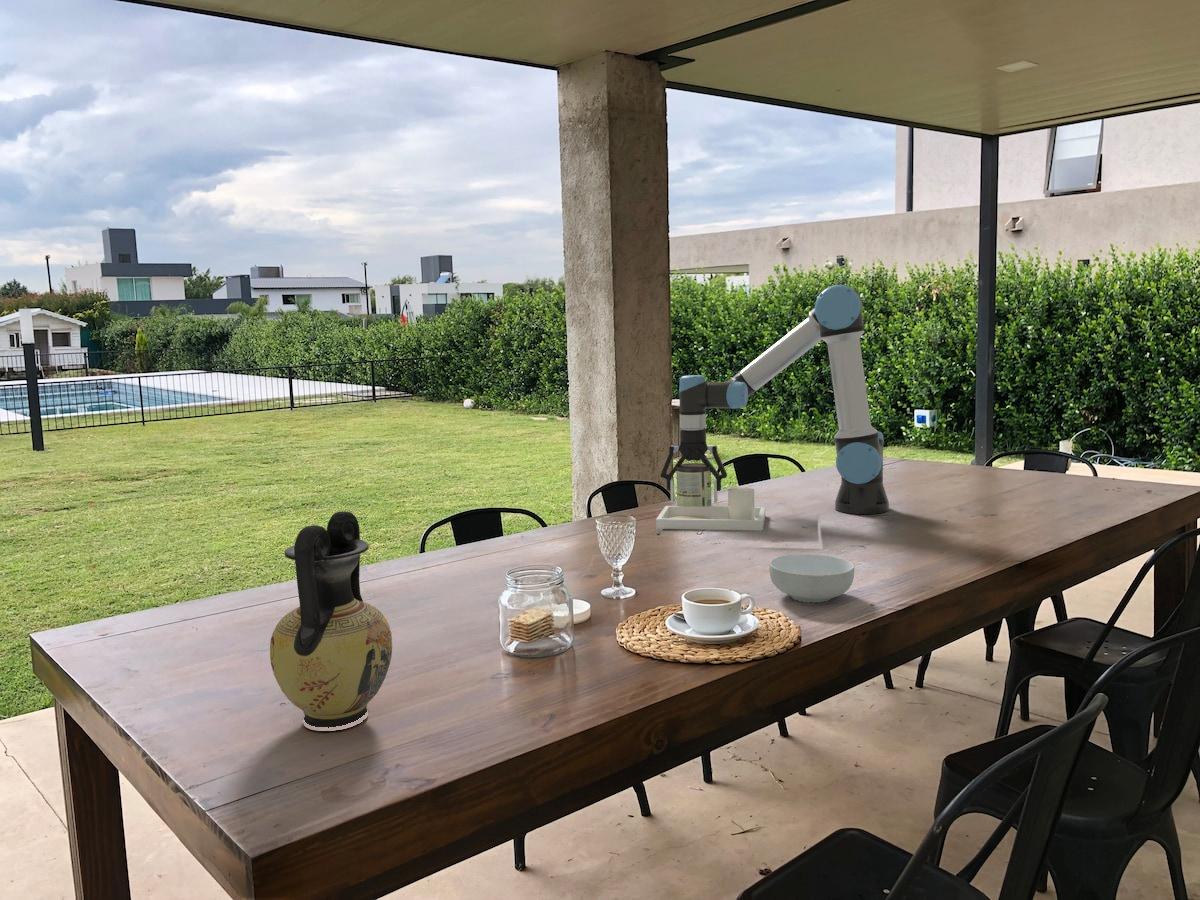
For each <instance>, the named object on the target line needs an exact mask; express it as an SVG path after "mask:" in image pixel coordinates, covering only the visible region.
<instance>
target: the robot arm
mask: <svg viewBox="0 0 1200 900" xmlns="http://www.w3.org/2000/svg"><path fill="white" fill-rule="evenodd" d="M863 307H864V306H863V300H862V297H861V295H860V294H859V292H858V291H857V290H856V289H854V288H852V287H851V286H848V285H846V284H834V285H831V286H828V287H826V288H825V289H823V290H822V291H821V292H820V293H819V295H818V296H817V298H816V300H815V305H814V308H812V309H811V310H810V311H809V312H808V317H807V318H806V319H804V320H803V321H802V322H800V323H799V324H798V325H797V326H796V327H794V328H792V329H791V330H790V331H789V332H788V333H786V334H785V335H784V336H783V337H782V338H780V339H779V340H778V341H777V342H775V343H774V344H773V345H771V346H770V347H769V348H767V350H765V351H764V352H762V353H761V354H760V355H759V356H758V357H757V358H755V359H753V361H751V362H750V363H748V365H747V366H745V367H744V368H743V369H741V370H740V371H739V372H738V373H736V374H735V375H733V376H732V377H731V378H730V379H729V380H726V381H717V382H714V381H713V382H711V381H710V382H709V381H707V380H706V376H704V375H702V374H700V375H699V374H698V375H697V374H691V375H689V374H688V375H683V376H681V377H680V378H679V386H678V387H679V390H678V395H679V428H681V429H680V430H679V439H680V441H679V443H680V444H679V445H674V444H672V445H670V446H669V449H668V450H669V451H668V452H669V453H668V456H667V458H666V461H665V463H664V466H663V468H662V470H661V473H660V478H662V479H665V480H666V490H667V491H670V503H674V502H675V500H676V499H675V496H676V495H675V478H672V477H673V476H674V475H675V474H676V471H677V469H676V467H680V465H681V464H684V462H685V460H687V461H690V462H691V461H697V462H698V461H701V462H702V463H703V464H705V465H706V466H707V467H709V466H710V471H711V475H712V476H714V478H715V479H713V503H715V504H717V503H718V492H720V491H721V489H722V480H723V479H726V478H727V477H728V473H727V470H726V469H725V465H724V464H723V461H722V459H721V457H720V455H719V453H718V452H719V451H718V446H717V445H716V444H714V445H707V430H706V429H705V428H706V427H707V426H706V425H707V421H706V419H707V417H706V416H707V415H706V409H733V410H735V409H744V408H746V407H747V405H748V400H749V398H750V396H752V395H753V394H754V393H755V392H757V391H758V390H759V389H760V388H762V387H763V386H765V384H767V383H768V382H769V381H771V380H772V379H773V378H775V377H776V376H777V375H779V374H780V373H781V372H782V371H783V370H784V369H786V368H787V367H789V366H790V365H791V364H793V363H794V362H795V361H797V360H798V359H799V358H801V357H802V356H803V355H804V354H806V353H807V352H808V351H809V350H811V349H812V348H813V347H814V346H816V345H817V344H819V343H820V342H821V341H824V342H825V343H826V346H827V352H828V359H829V366H830V374H831V382H832V388H833V395H834V402H835V403H834V404H835V410H836V417H837V426H838V431H837V432H836V434H835V435H834V436H833V437H834V445H835V451H836V452H835V453H836V457H835V467H836V470H837V472H838V474H839V475H840V476H841V480H840V481H841V482H840V486H839V488H838V492H837V495H836V497H835V502H834V509H835V510H836V511H838V512H840V513H846V514H854V515H877V514H884V513H887V512H888V511H889V510H890V503H889V498H888V496H887V495H888V494H887V493H886V492H887V491H886V490H885V485H884V444H885V440H884V434H883V432H881V431H878V430H877V429H876V428H875V427H874V426H872V423H871V415H870V409H869V400H868V393H867V384H866V378H865V371H864V363H863V362H864V361H863V357H862V356H863V354H862V350H861V349H862V347H861V341H860V339H861V337H862V336H863V334H864V333H865V325H864V318H863V310H864V309H863ZM678 451H679V453H680V454H681V457H680V458H679V460H678V461H677V463H675V465H674V467H673V468H672V469H671V471H670V472H669V473H667V472H668V470H669V467H670V465H671V463H672V460H673V458H674V456H675V454H676V453H678ZM707 451H709V453H710V454H712V456H713V459H714V460H715V464H716V466H717V467H718V470H719V471H718V470H717V469H716V467H714V465H713V464H712V462H711V461H710V460H709V459H708V457H707V455H706V453H707Z"/></svg>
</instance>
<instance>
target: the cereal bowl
mask: <svg viewBox="0 0 1200 900" xmlns="http://www.w3.org/2000/svg"><path fill="white" fill-rule="evenodd" d="M769 576H770V581H771V582H772V584H773V586H775V588H776V589H778V590H779V591H780V592H781V593H784V594H786V595H787V596H790V598H792V599H793V600H795V601H797V600H798V601H797V602H802V601H803V602H802V603H810V602H814V604H815V602H817V603H825V602H828V601H830V600H832V599H833V598H836V597H839V596H841V595H843V594H845V593H846V592H847V591H849V589H850V588H851V586H852V585H853V582H854V578H855V565H854V564H853V562H851V561H849V560H847V559H845V558H842V557H838V556H833V555H824V554H814V553H813V554H812V553H811V554H808V553H801V554H800V553H796V554H785V555H781V556H777V557H775V558H773V559H771V560H770V561H769ZM824 601H825V602H824Z"/></svg>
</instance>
